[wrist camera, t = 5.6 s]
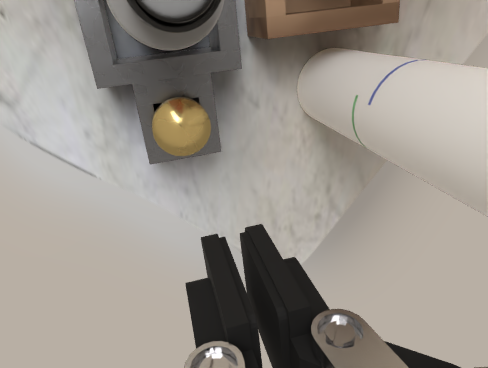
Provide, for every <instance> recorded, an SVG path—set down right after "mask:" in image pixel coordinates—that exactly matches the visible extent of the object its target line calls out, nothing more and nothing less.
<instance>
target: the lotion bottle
mask: <svg viewBox="0 0 488 368" xmlns="http://www.w3.org/2000/svg"><path fill="white" fill-rule="evenodd" d="M106 1H107V4H108V6H109V9H110V11H111V12H112V14H113V16H114V18H115V19H116V21H117V22H118V23H119V25H120V26H121V27H122V28H123V29H124V30H125V31H126V32H127V33H128V34H129V35H130V36H132V37H133V38H134V39H136V40H137V41H139V42H141V43H143V44H145V45H147V46H149V47H152V48H156V49H160V50H179V49H184V48H187V47H190V46H192V45H194V44H196V43H197V42H199V41H201V40H202V39H203V38H204V37H205V36H207V35H208V34H209V32H210V31H211V30H212V29H213V27H214V26H215V24H216V23H217V21H218V19H219V17H220V14H221V11H222V8H223V4H224V0H106Z"/></svg>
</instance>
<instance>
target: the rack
mask: <svg viewBox="0 0 488 368" xmlns="http://www.w3.org/2000/svg"><path fill="white" fill-rule="evenodd" d="M399 4H400V0H245V10H246V21H247V32H248V36H250V37H257V38H265V39H272V38H279V37H287V36H295V35H303V34H311V33H319V32H327V31H334V30H342V29H350V28H358V27H366V26H374V25H381V24H389V23H397V22H398V19H399Z"/></svg>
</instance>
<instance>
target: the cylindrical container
mask: <svg viewBox="0 0 488 368" xmlns="http://www.w3.org/2000/svg"><path fill="white" fill-rule="evenodd" d="M297 95H298V100H299V103H300V105H301V107H302V108H303V110H304V111H305V112H306V113H307V114H308V115H309V116H310V117H312V118H313V119H315V120H317V121H319V122H321V123H322V124H324V125H326V126H328V127H329V128H331V129H333V130H335V131H337V132H338V133H340V134H342V135H344V136H345V137H347V138H349V139H351V140H352V141H354V142H356V143H358V144H360V145H361V146H363V147H365V148H367V149H368V150H370V151H372V152H374V153H375V154H377V155H379V156H381V157H383V158H384V159H386V160H388V161H390V162H391V163H394V164H395V165H397V166H399V167H400V168H402V169H404V170H406V171H407V172H409V173H411V174H413V175H415V176H416V177H418V178H420V179H422V180H423V181H425V182H427V183H429V184H430V185H432V186H434V187H436V188H438V189H439V190H441V191H443V192H445V193H446V194H448V195H450V196H452V197H453V198H455V199H457V200H459V201H461V202H462V203H464V204H466V205H468V206H470V207H471V208H473V209H475V210H477V211H478V212H480V213H482V214H484V215H486V216H487V217H488V68H481V67H475V66H468V65H460V64H453V63H446V62H439V61H431V60H424V59H416V58H409V57H401V56H394V55H386V54H378V53H371V52H364V51H356V50H349V49H342V48H329V49H325V50H322V51H320V52H318V53H316V54H315V55H314V56H312V57H311V58H310V59H309V60H308V62H307V63H306V64H305V65H304V67H303V69H302V71H301V73H300V75H299V79H298V83H297Z"/></svg>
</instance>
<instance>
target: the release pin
mask: <svg viewBox="0 0 488 368" xmlns="http://www.w3.org/2000/svg"><path fill="white" fill-rule="evenodd" d="M152 131H153V136H154V138H155V141H156V142H157V144H158V145H159V146H160V147H161V148H162V149H163V150H164V151H165V152H167V153H169V154H172V155H175V156H188V155H191V154H194V153H196V152H198V151H199V150H200V149H202V148H203V147H204V145H205V144H206V143H207V141H208V139H209V136H210V132H211V123H210V119H209V117H208V115H207V113H206V111H205V110H204V109H203V107H202V106H201V105H200V104H199V103H197V102H196V101H194V100H192V99H190V98H186V97H175V98H171V99H168V100H166V101H165V102H163V103H162V104H161V105H160V106H159V107H158V108H157V110H156V111H155V113H154V116H153V119H152Z"/></svg>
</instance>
